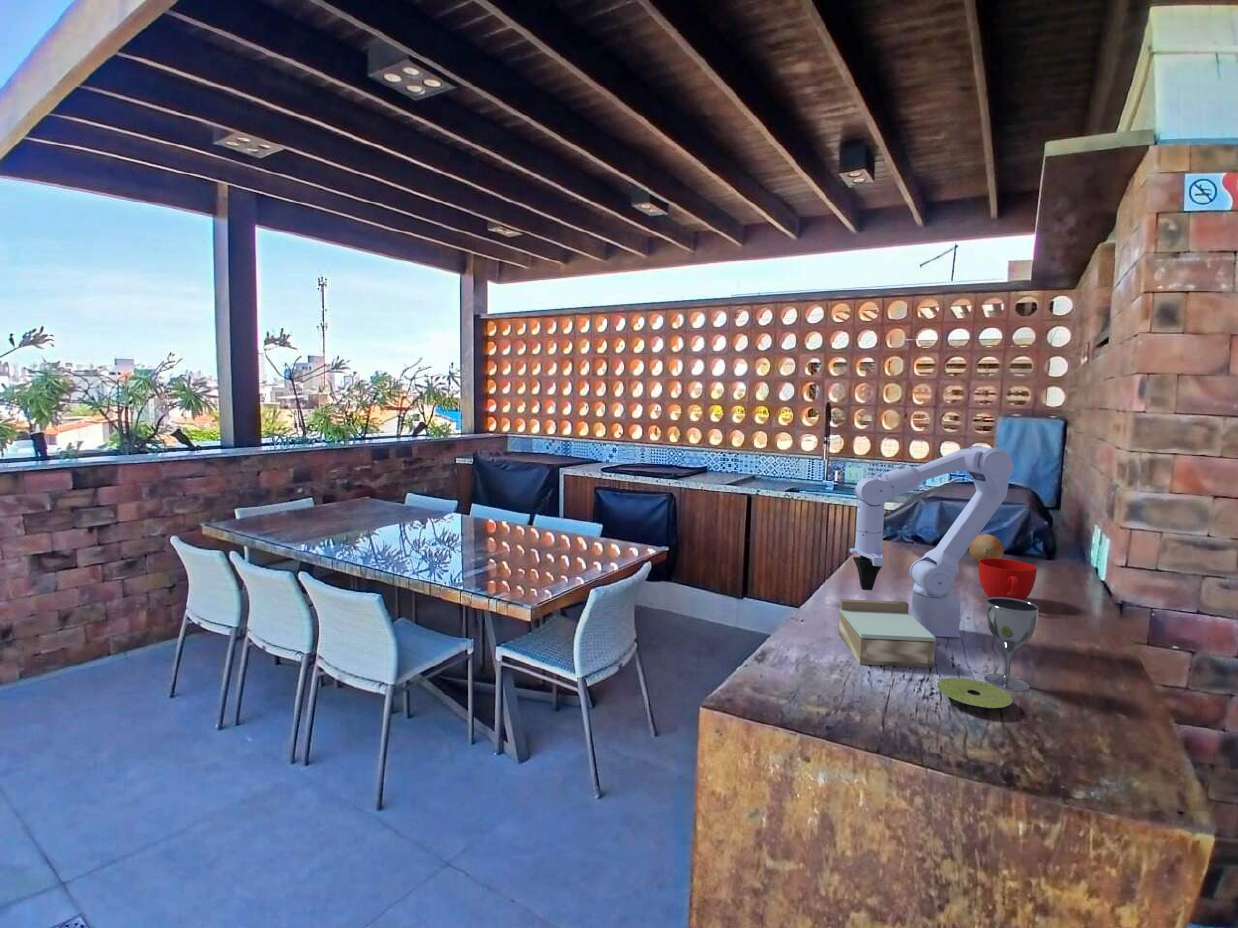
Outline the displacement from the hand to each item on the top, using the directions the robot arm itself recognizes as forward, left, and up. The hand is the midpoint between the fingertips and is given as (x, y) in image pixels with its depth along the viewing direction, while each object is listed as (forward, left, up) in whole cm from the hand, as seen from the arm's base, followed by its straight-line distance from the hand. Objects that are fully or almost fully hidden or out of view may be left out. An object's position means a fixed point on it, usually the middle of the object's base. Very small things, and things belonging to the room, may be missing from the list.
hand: (866, 589), depth 141 cm
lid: (0, +13, -4) cm, 14 cm away
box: (0, +13, -9) cm, 16 cm away
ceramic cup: (-43, -24, -9) cm, 50 cm away
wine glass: (-18, +26, -9) cm, 33 cm away
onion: (-58, -67, -9) cm, 89 cm away
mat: (-8, +35, -9) cm, 37 cm away
